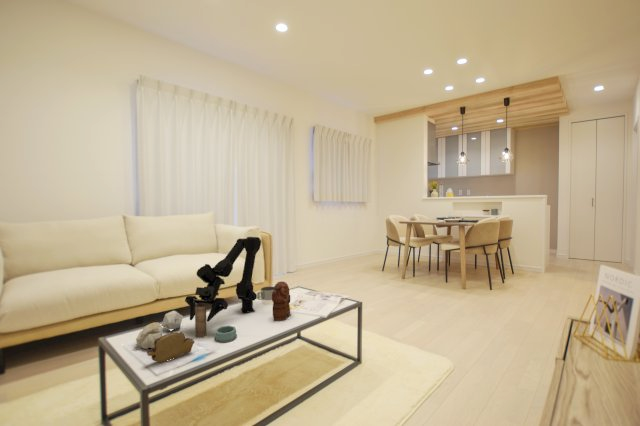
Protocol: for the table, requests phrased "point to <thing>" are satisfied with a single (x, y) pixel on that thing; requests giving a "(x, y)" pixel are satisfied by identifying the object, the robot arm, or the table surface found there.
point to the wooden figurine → (281, 301)
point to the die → (172, 320)
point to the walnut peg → (200, 320)
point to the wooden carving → (170, 346)
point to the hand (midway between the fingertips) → (198, 320)
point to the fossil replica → (149, 335)
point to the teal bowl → (225, 334)
